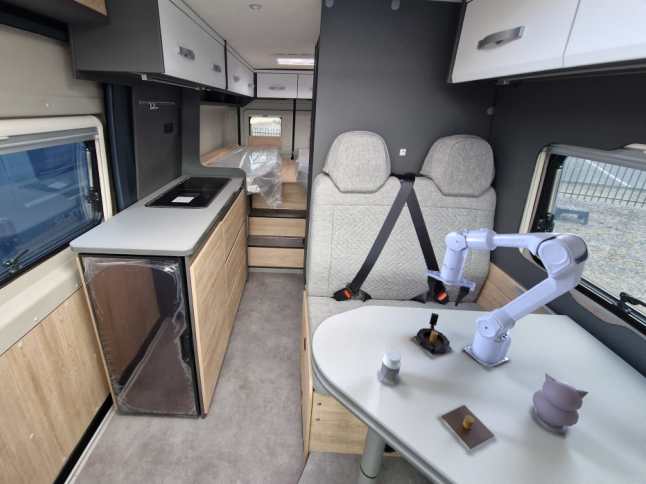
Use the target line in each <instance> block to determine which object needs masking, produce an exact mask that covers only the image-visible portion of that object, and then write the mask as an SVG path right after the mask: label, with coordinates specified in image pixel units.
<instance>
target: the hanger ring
mask: <svg viewBox="0 0 646 484" xmlns="http://www.w3.org/2000/svg"><path fill="white" fill-rule="evenodd" d="M439 317H440V315H439V314H438V313H435V312H431V315H430V319H429V325H430V326H429V327H423V328H420V329H419V330H418V331H417V332H416V335H415V336H416V339H417V341H418V343H419V345H418V346H421V348H422V349H424V350H425V351H427V350H428V351H429V352H431V353H432V351H433V353H437V354H443V355H444V354H446V353H445V352H446V351H447V350H448V348H449V346H450V345H451V343H450V340H449V339H448V338H447V336H446V335H445V334H444V333H442V332H440V331H439V330H437V329H435V327H436V326H437V324H438V320H439ZM432 331H436V332H437V333H438V335H437V339H439V340H440V341H441V343H442V345H441V346H440V345H432V344H430V343H428V342H426V341H425V339H424V335H428V336H431V332H432ZM428 351H427V352H428ZM429 352H428V353H429ZM431 353H430V354H431Z"/></svg>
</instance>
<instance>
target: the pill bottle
mask: <svg viewBox="0 0 646 484" xmlns="http://www.w3.org/2000/svg"><path fill="white" fill-rule="evenodd" d="M401 359H402V355H401V353H400V352H399V351H397V350H395V349H392V348H390V349H387V350H386V351H385V353H384V355H383V356H382V360H381V366H380V371H379V379H380V380H381V381H383V380H384V382H385V381H386V382H387V383H396V382H397V381H398V379H399V374H400V371H401V368H402V367H401V366H402V362H401V361H402V360H401Z"/></svg>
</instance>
